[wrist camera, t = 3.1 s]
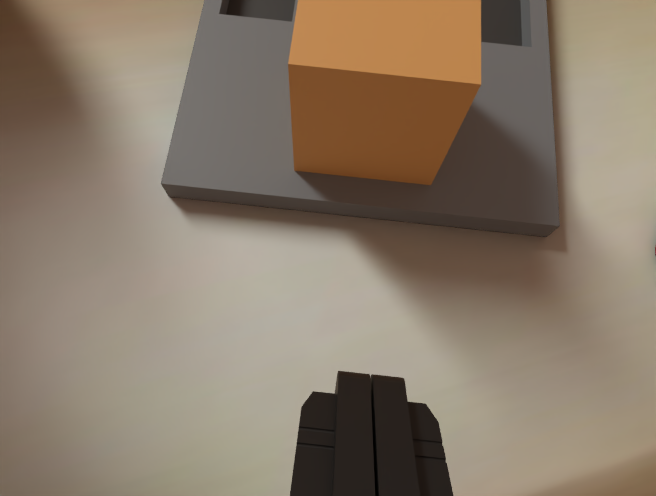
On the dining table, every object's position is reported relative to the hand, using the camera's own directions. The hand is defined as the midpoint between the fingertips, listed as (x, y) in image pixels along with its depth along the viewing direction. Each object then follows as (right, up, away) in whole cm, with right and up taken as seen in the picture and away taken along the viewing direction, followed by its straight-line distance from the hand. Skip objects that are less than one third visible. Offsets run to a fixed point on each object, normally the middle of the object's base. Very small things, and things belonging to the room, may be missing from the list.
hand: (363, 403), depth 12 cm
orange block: (+1, +10, +15) cm, 19 cm away
